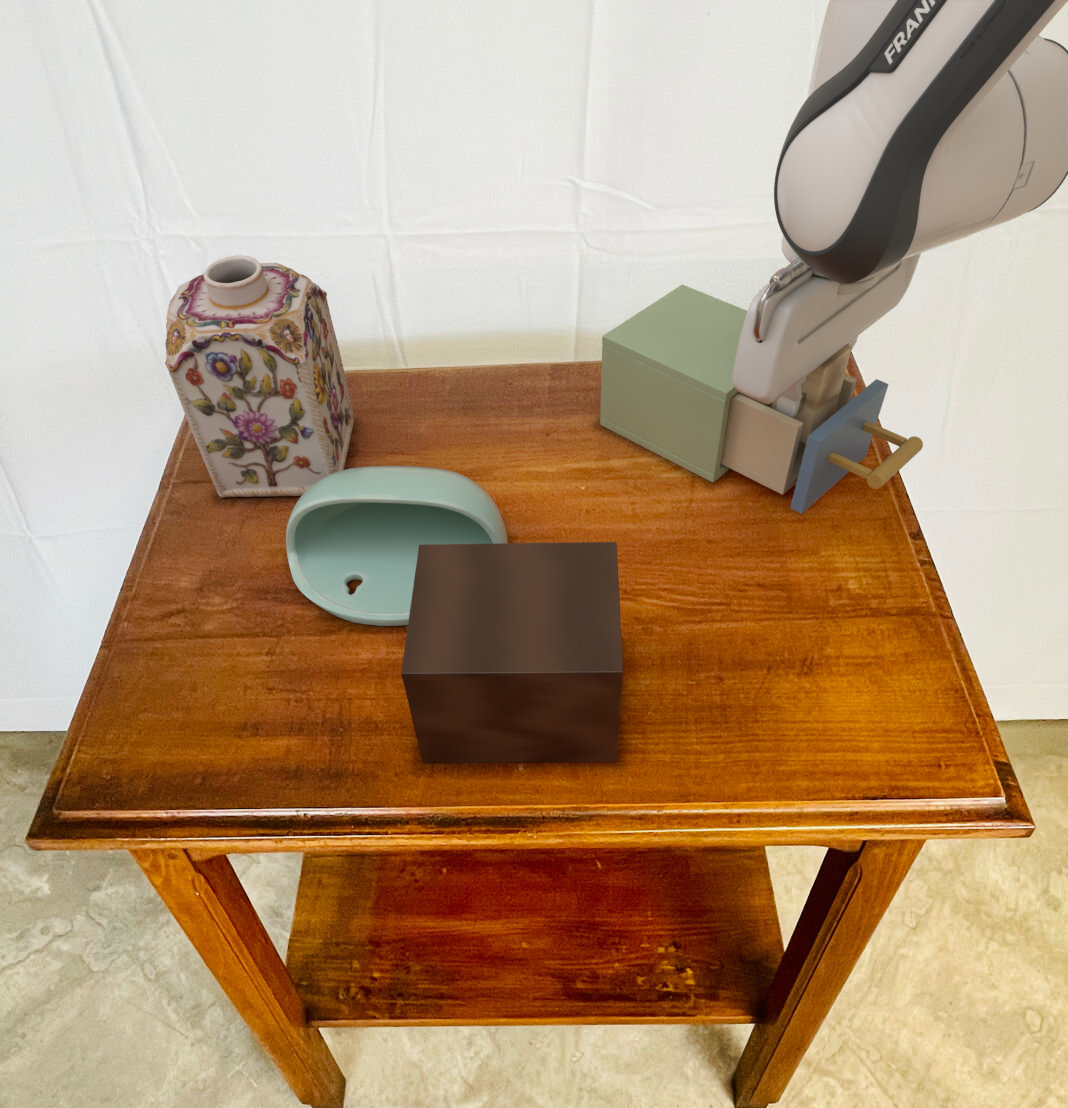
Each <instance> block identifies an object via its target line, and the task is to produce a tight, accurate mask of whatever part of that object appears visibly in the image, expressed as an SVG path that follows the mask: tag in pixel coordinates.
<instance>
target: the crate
mask: <svg viewBox="0 0 1068 1108" xmlns="http://www.w3.org/2000/svg"><path fill="white" fill-rule="evenodd" d="M618 558H619V557H618V543H617V541H585V542H584V541H583V542H582V541H581V542H576V541H575V542H574V541H573V542H511V543H510V542H508V543H499V544H425V545H419V549H418V556H417V563H416V571H415V578H414V585H413V592H412V599H411V606H410V614H409V621H408V625H407V628H406V636H405V641H404V642H405V643H404V650H403V656H402V657H403V658H402V665H401V672H400V674H401V678H402V683H403V686H404V691H405V696H406V699H407V703H408V708H409V713H410V716H411V720H412V724H413V728H414V729H413V730H414V732H415V738H416V741H417V745H418V750H419V754H420V758H421V762H422V764H518V763H519V764H520V763H521V764H531V763H532V764H534V763H535V764H544V763H546V764H547V763H548V764H550V763H551V764H555V763H559V764H561V763H563V764H564V763H567V764H569V763H571V764H573V763H574V764H575V763H586V764H587V763H589V764H590V763H618V752H619V751H618V750H619V749H618V748H619V736H620V723H621V722H620V721H621V705H622V692H623V678H624V665H623V664H624V663H623V644H622V641H623V640H622V624H621V623H622V622H621V602H620V601H621V600H620V599H621V598H620V585H619V584H620V582H619V581H620V580H619V579H620V578H619V563H618V562H619V561H618Z"/></svg>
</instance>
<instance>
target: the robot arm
mask: <svg viewBox="0 0 1068 1108" xmlns="http://www.w3.org/2000/svg"><path fill="white" fill-rule="evenodd" d="M1067 3H1068V0H829V2H828V4H827V7H826V11H825V15H824V18H823V22H822V26H821V30H820V33H819V37H818V41H817V47H816V50H815V51H816V52H815V55H814V60H813V66H812V70H811V76H810V81H809V87H808V92H807V97H806V99H805V101H804V102H803V104H802V106H801V107H800V108H799V110H798V112H797V114H796V116H795V118H794V120H793V121H792V124H791V125H790V128H789V130H788V132H787V134H786V137H785V138H784V139H785V140H784V142H783V144H782V147H781V151H780V154H779V158H778V161H777V165H776V172H775V175H774V185H773V203H774V204H773V205H774V210H775V211H774V212H775V217H776V219H777V222H778V226H779V229H780V231H781V233H782V239H781V245H780V247H781V252H782V255H783V256H784V257H785V259H786V260H787V261H788V262H789V264H788V265H787V266H785V267H781V268H780V269H778V270H777V271H776V272H775V273H773V274H772V275H771V277H770V280H769V282H768V283H767V284H765V285H764V286H763V287H762V288H761V289H759V290H758V291H757V292H756V294H755V296H754V297H753V299H752V300H751V302H750V303H749V306H748V309H747V310H746V311H747V314H746V317H745V320H744V324H743V328H742V331H741V335H740V340H739V344H738V348H737V352H736V357H735V362H734V366H733V372H732V383H733V385H734V387H735V389H736V390H737V391H738V392H740V393H742V394H744V395H746V396H748V397H750V398H752V399H754V400H757V401H759V402H762V403H765V404H770V403H772V402H774V401H775V400H777V399H778V402H777V407H776V409H777V411H778V412H780V413H782V414H785V415H787V416H789V417H791V418H794V417H795V416H796V415H797V414H798V413H799V412H801V411H802V410H803V409H804V403H805V400H806V396H807V394H806V393H804V392H802V390H801V383H804V382H805V380H806V376H807V375H808V374H810V373H811V372H812V371H814V370H815V369H816V368H817V367H819V366H820V365H821V364H823V363H824V362H825V361H826V360H828V359H829V358H830V357H832V356H833V355H834V354H835V353H837V352H838V351H839V350H840V349H842V348H843V347H844V346H846V345H847V346H850V347H852V350H851V352H852V351H853V349H854V347H855V346H856V343H857V341H858V337H859V336H860V335H861V334H862V333H864V332H865V331H866V330H867V329H869V328H871V326H873V325H874V324H875V323H876V322H878V321H879V320H880V319H882V318H883V317H884V316H885V315H887V314H888V313H890V312H891V311H892V310H893V309H895V308H896V307H897V306H898V305H899V303H900V302H901V301H902V299H903V297H904V296H905V294H906V293H907V290H908V289H909V287H910V284H911V282H912V280H913V277H914V274H915V272H916V269H917V266H918V264H919V260H920V258H921V254H922V253H925V252H927V251H932V250H933V249H937V248H940V247H942V246H945V245H948V244H951V243H954V242H956V241H959V240H962V239H965V238H969V237H970V236H972V235H975V234H977V233H980V232H981V231H982V232H983V231H985V230H988V229H991V228H995V227H997V226H1000V225H1002V224H1004V223H1007V222H1011V221H1012V220H1015V219H1017V218H1019V217H1021V216H1023V215H1024V214H1027V213H1030V212H1032V211H1034V210H1036V209H1037V208H1039V207H1041V206H1042V205H1044V204H1045V203H1046V202H1047V201H1048V200H1049V199H1051V197H1052V196H1054V194H1056V192H1057V191H1058V189H1060V187H1061V186H1062V184H1063V183H1064V181H1065V180H1066V178H1067V176H1068V49H1067V48H1066V47H1065V46H1064V45H1062V44H1061V43H1060V42H1057V41H1055V40H1053V39H1051V38H1050V39H1049V38H1045V37H1043V36H1041V35H1040V34H1041V33H1042V32H1043V31H1044V29H1045V28H1046V27H1047V26H1048V25H1049V24H1050V22H1052V20H1053V19H1054V18H1055V17H1056V15H1057V14H1058V13H1059V12H1060V11H1061V10H1062V9H1063V8H1064V6H1065V5H1066V4H1067Z"/></svg>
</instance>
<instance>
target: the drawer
mask: <svg viewBox="0 0 1068 1108" xmlns="http://www.w3.org/2000/svg"><path fill="white" fill-rule="evenodd" d="M857 382H858V379H857V378H856V377H853V376H851V375H848V374H846V373H845V376H844V380H843V384H842V388H841V391H840V395H839V399H838V403H837V407H836V410H835V414H834V415H833V416H831V417H830V418H829V419H828V420H827V421H825V422H824V423H823V424H822V425H821V426H819V427H818V428H817V429H816V430H815V431H813V432H812V433H811V434H810V435H809V436H808V438H807V442H806V443H804V442H801V441H800V437H801V432H802V428H803V424H804V423H802V422H800V421H798V420H796V419H793V418H791V417H789V416H787V415H785V414H782V413H780V412H778V411H776V410H774V409H772V404H773V402H772V403H770V404H765V403H762V402H759V401H757V400H754V399H752V398H750V397H748V396H746V395H744V394H742V393H740V392H737V393H736V394H735V395H733V396H732V397H731V399H730V405H729V412H728V418H727V424H726V431H725V437H724V443H723V450H722V456H721V462H720V464H722V465H724V466H726V467H728V468H730V469H729V470H732V471H733V472H737V473H739V474H740V475H743V476H744V477H746V478H747V479H750V480H752V481H754V482H757V483H758V484H760V485H762V486H764V487H766V488H768V489H770V490H772V491H774V492H776V493H778V494H780V495H782V496H783V495H785V493H787V492H788V491H789V490H791V488H793V487H795V488H794V491H793V496H792V499H791V503H790V504H791V505H790V509H791V510H793V511H795V512H797V513H799V514H801V515H803V514H804V513H805V512H806V511H807V510H808V509H809V508H811V506H813V505H814V504H815V503H816V502H817V501H818V500H819V499H820V498H821V497H823V496H824V495H825V494H826V493H827V492H828V491H829V490H830V489H831V488H833V487H835V485H836V484H837V483H839V482H840V481H841V480H842V479H843V478H844V477H845V476H846V475H847V474H848V473H849V472H850V473H853V474H854V475H857V476H859V477H861V478H863V479H865V480H866V483H867V485H868V486H869V487H870V488H871V489H874V490H878V489H881V488H882V487H883V486H884V485H885V484H886V483H887V482H889V480H890V479H891V478H893V476H895V475H896V474H897V473H898V472H899V471H900V470H901V469H902V468H904V467H905V465H907V464H908V463H909V462H910V461H911V460H912V459H913V458H914V457H915V456H916V455H918V454H919V453H920V452H921V451H922V449H923V448H924V441H923V440H922V439H921V438H920V437H918V436H915V435H913V436H910V437H909V438H907V437H905V436H902V435H900V434H898V433H896V432H893V431H891V430H888V429H887V428H884V427H881V426H880V425H877V423H878V420H879V417H880V413H881V410H882V407H883V403H884V400H885V398H886V394H887V391H888V388H889V383H887V382H885V381H882V380H880V379H877V378H876V379H874V380H873V381H872V382H871V383H870V384H869V385H867V386H866V387H864V389H863V390H861V391H860V392H859V393H858V394H857V395H855V396H854V392H855V389H856V385H857ZM853 396H854V397H853ZM873 436H875V437H877V438H879V439H882V440H883V441H886V442H888V443H890V444H892V445H895V446H897V449H895V450H894V451H893V452H892V453H891V454H889V456H888V457H887V458H886V459H884V460H883V461H882V462H881V463H880V464H879V465H878V466H877V467H876V468H875V469H874V470H873V469H871V468H869V467H866V466H864V465H863V464H860V463H861V462H862V461H863V460H864V459H865V458H866V457H867V455H868V452H869V448H870V445H871V442H872V439H873Z"/></svg>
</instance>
